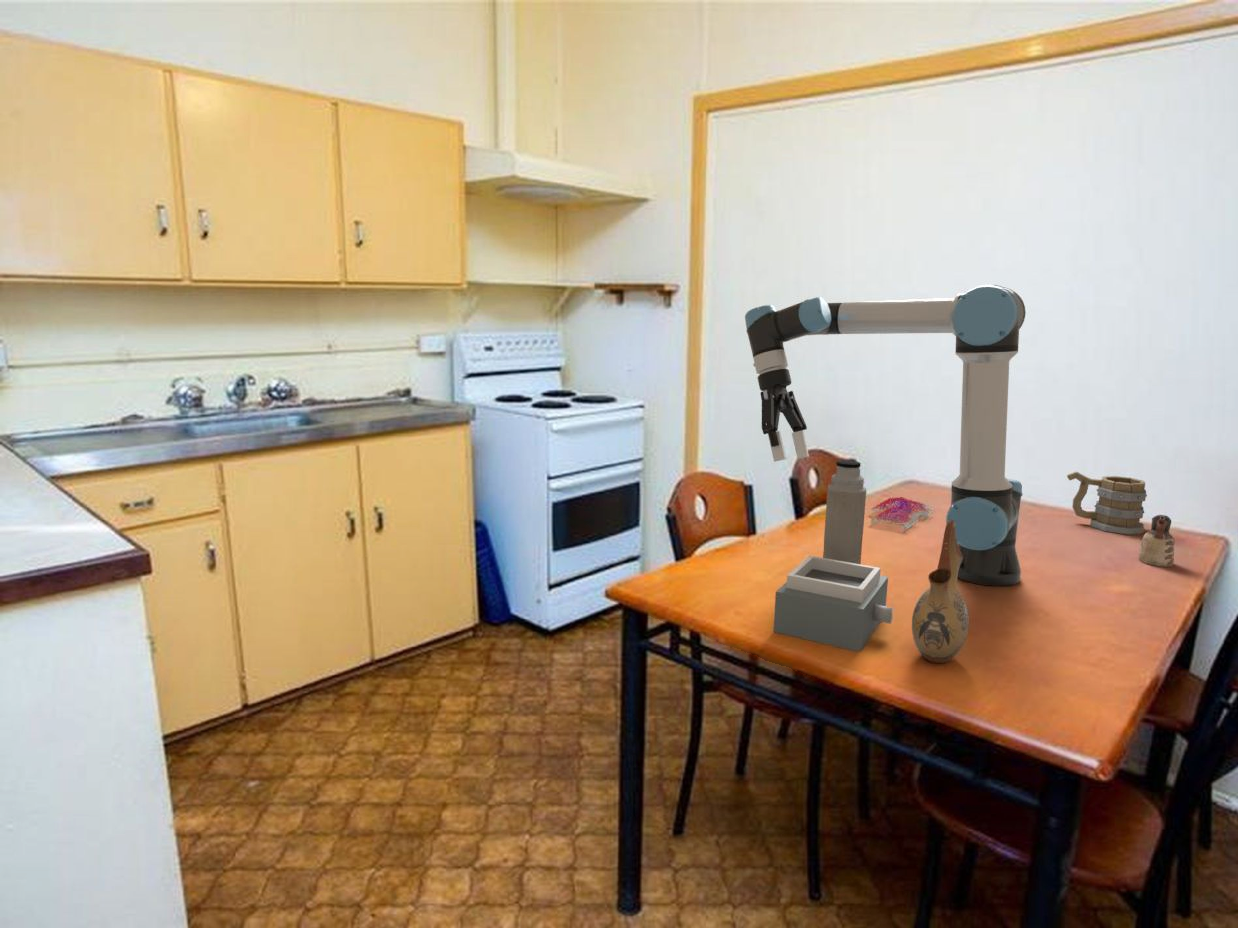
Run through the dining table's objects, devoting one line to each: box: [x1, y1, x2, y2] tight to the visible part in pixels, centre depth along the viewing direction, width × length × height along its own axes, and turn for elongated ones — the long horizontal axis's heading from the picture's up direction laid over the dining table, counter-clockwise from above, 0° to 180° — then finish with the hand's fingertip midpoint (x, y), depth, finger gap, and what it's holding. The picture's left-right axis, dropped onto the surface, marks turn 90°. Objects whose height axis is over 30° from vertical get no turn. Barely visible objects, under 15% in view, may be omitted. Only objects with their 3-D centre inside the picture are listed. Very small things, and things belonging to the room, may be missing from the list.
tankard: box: [1066, 471, 1148, 536], centre depth 220 cm, size 20×13×15 cm, turn 58°
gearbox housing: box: [773, 555, 894, 653], centre depth 149 cm, size 19×20×10 cm
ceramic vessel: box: [911, 520, 970, 664], centre depth 134 cm, size 16×9×25 cm, turn 148°
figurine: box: [1138, 514, 1175, 568], centre depth 189 cm, size 7×7×12 cm
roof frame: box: [870, 496, 935, 531], centre depth 226 cm, size 30×15×5 cm, turn 143°
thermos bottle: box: [822, 459, 867, 565], centre depth 167 cm, size 8×8×28 cm
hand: (792, 459), depth 183 cm, fingers open, 13 cm apart
